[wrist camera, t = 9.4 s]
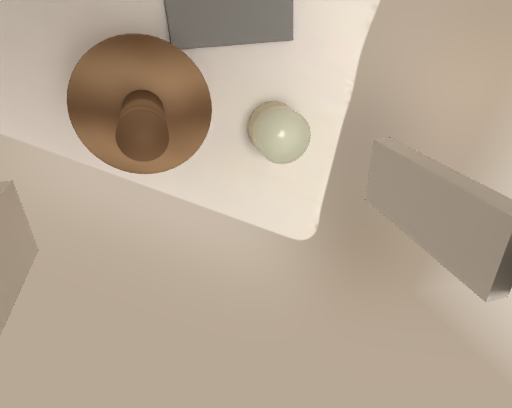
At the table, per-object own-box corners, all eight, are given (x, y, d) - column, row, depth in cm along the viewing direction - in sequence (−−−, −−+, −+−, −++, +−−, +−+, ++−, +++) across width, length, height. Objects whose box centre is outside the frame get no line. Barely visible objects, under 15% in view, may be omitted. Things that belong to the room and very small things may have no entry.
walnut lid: (49, 40, 26) (11, 50, 19) (200, 27, 28) (219, 33, 21) (91, 178, 31) (75, 228, 24) (216, 159, 34) (236, 199, 26)
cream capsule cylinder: (246, 104, 42) (257, 114, 38) (294, 98, 43) (311, 108, 39) (249, 152, 45) (260, 167, 41) (294, 146, 46) (309, 159, 42)
